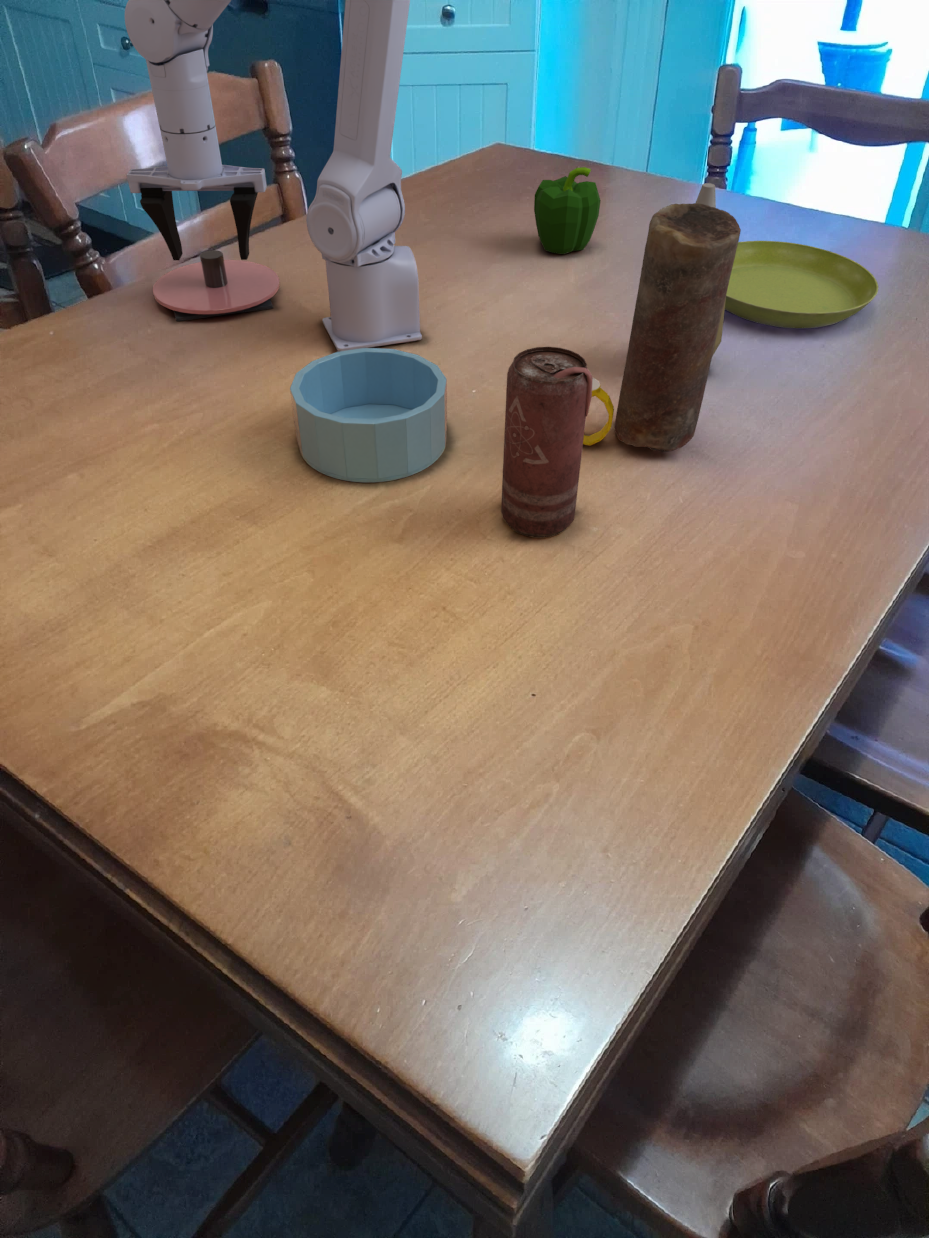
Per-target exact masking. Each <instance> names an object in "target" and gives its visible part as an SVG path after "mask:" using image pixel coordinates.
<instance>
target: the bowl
mask: <svg viewBox="0 0 929 1238" xmlns="http://www.w3.org/2000/svg"><path fill="white" fill-rule="evenodd" d="M291 382H292V383H291V385H290V387H289V392H290V399H291V400H290V401H291V407H292V415H293V422H294V428H295V436H296V442H297V445H298V449H299V453H300V455H301V457H302V459H303V460H304V461H305V462H306V464H308V465H309V466H310V468H312V469H314V470H315V471H317V472H319V473H321V474H323V475H325V476H328V477H330V478H333V479H336V480H341V481H346V482H353V483H383V482H385V483H386V482H390V481H396V480H401V479H404V478H407V477H411V476H414V475H416V474H418V473H420V472H422V471H424V470H426V469H428V468H429V467H431V466H432V465H433V464H434V463H435V462H436V461H438V460H439V459H440V457H441V456H442V455H443V454H444V451H445V449H446V446H447V436H448V391H447V390H448V378H447V377H446V375H445V374H444V373H443V371H442V370H441V368H440V367H439V365H437V364H436V363H434V362H433V361H430V360H428V359H426V358H425V357H423V356H422V355H419V354H416V353H412V352H408V351H404V350H399V349H395V348H382V347H369V348H360V349H353V350H346V351H336V352H333V353H330V354H327V355H324V356H321V357H320V358H316V359H313V360H311V361H310V362H308V363H307V364H306V365H305V366H304V367H302V368H301V369H299V370H298V371H297V372H296V373H295V375H294V377H293V380H292V381H291Z"/></svg>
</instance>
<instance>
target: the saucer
mask: <svg viewBox="0 0 929 1238" xmlns="http://www.w3.org/2000/svg"><path fill="white" fill-rule="evenodd" d="M878 292H879V283H878V281H877V279H876V277H875V276H874V275H873V273H871V272H870V271H869V270H868V269H867V268H866V267H864V266H863V265H862V264H861V263H859V262H857V261H855V260H853V259H851V258H849V257H846V256H844V255H841V254H839V253H837V252H833V251H831V250H827V249H824V248H820V247H815V246H811V245H807V244H801V243H795V242H788V241H779V240H778V241H777V240H746V241H739V242H738V245H737V249H736V254H735V259H734V263H733V267H732V271H731V276H730V280H729V285H728V289H727V294H726V302H725V311H727V312H729V313H730V314H732V315H735V316H737V317H739V318H741V319H743V320H747V321H750V322H752V323H756V324H760V325H764V326H765V325H766V326H769V327H776V328H783V329H816V328H823V327H828V326H831V325H834V324H837V323H840V322H842V321H844V320H846V319H848V318H850V317H853V316H854V315H856V314H857V313H859V312H861V310H863V309H864V308H866V306H868V305H869V304H870V303H871V302H872V301H873V300H874V299H876V297H877V295H878Z"/></svg>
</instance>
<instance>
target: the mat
mask: <svg viewBox="0 0 929 1238" xmlns="http://www.w3.org/2000/svg"><path fill="white" fill-rule="evenodd" d="M271 309H272V310H273V309H274V304H273V303H272V300H271V298H270V299H268V300H267V301H265V302H263V303H261V304H258V305H256V306H253V307H250V308H247V309H244V310H239V311H235V312H229V313H220V314H190V313H183V312H179V311H175V310H173V314H174V318H175V320H176V322H184V321H190V320H196V319H204V318H205V319H206V318H212V317H219V316H226V315H227V316H228V315H234V314H235V315H236V314H241V313H242V314H243V313H249V312H256V311H263V310H271Z"/></svg>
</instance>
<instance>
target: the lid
mask: <svg viewBox="0 0 929 1238" xmlns="http://www.w3.org/2000/svg"><path fill="white" fill-rule="evenodd" d="M199 260H200V261H199V262H193V263H189V264H186V265H182V266H180V267H176V268H174V269H172V270H170V271H167V272H166V273H164V274H162V275H161V276H160V277H159V278H158V279H157V280H156V281H155V282H154V284H153V286H152V295H153V298H154V300H155V301H156V302H157V303H158V304H159V305H160V306H163V307H164V308H167V309H169V310H172V311H174V310H175V311H179V312H183V313H190V314H220V313H229V312H235V311H239V310H244V309H247V308H250V307H253V306H256V305H258V304H261V303H263V302H265V301H267V300H268V299H270V300H271V298H273V297H274V296H275V295H276V294H277V292H278V291H279V290H280V287H281V282H280V276H279V275H278V273H277V272H276V271H275V270H273V269H272V268H270V267H268V266H266V265H264V264H261V263H257V262H253V261H249V260H241V259H224V253H223V252H222V251H220V250H216V249H215V250H211V249H209V250H206V251H203V252H201V253H199Z"/></svg>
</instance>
